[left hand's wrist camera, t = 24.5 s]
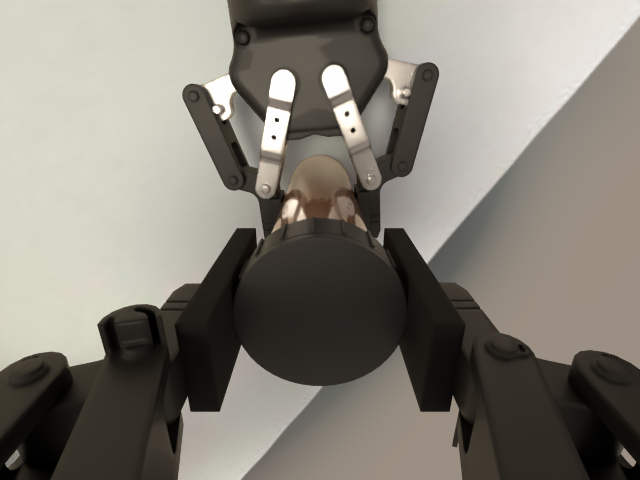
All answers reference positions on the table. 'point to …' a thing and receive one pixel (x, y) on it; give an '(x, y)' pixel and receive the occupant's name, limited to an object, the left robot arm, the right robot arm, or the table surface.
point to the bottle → (320, 194)
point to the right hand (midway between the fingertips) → (323, 245)
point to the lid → (320, 303)
